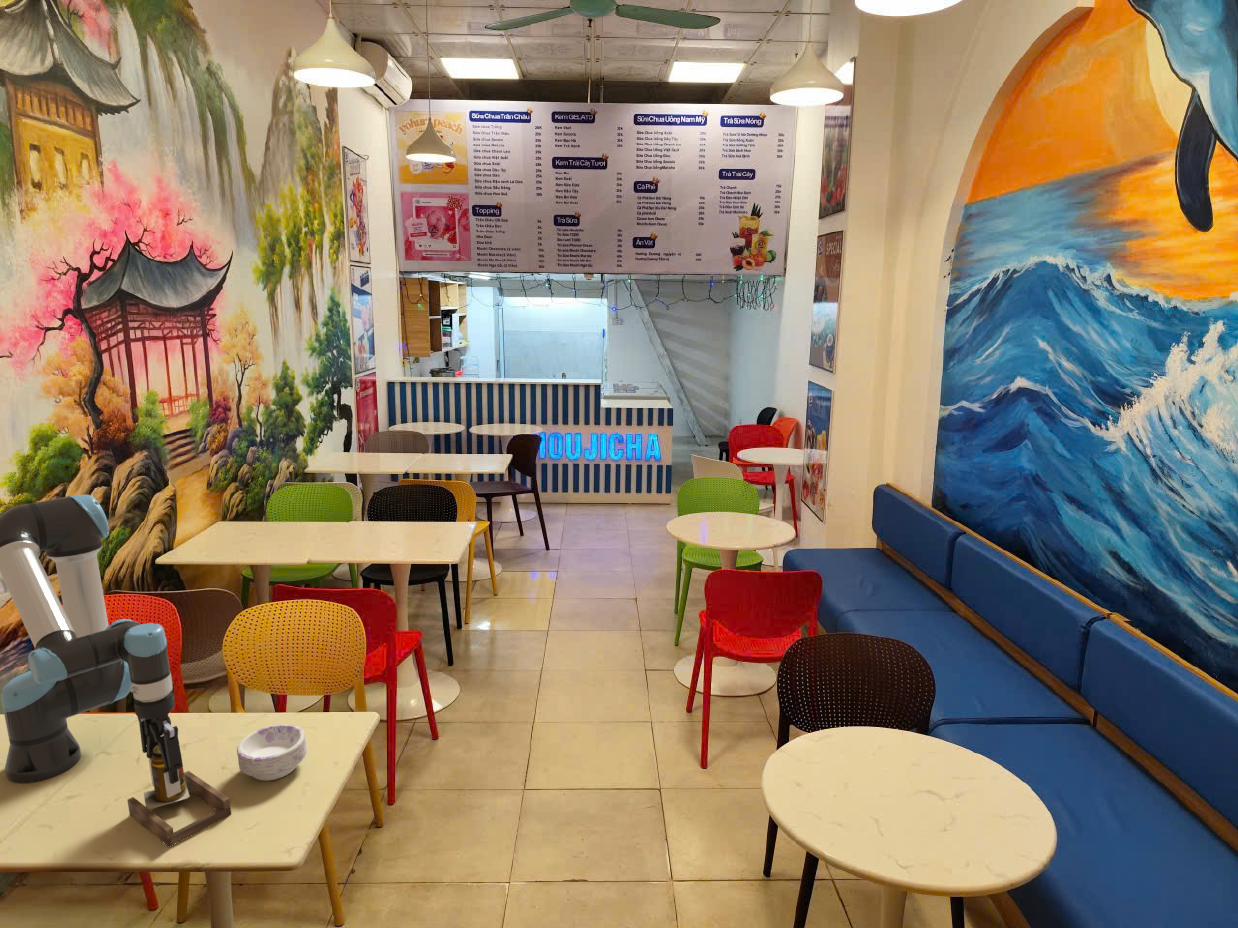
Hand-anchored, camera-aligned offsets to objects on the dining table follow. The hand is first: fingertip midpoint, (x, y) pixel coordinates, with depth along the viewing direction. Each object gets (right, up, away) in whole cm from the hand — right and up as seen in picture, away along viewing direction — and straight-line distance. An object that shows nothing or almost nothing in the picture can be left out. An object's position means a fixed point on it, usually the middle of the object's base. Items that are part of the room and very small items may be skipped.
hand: (166, 788), depth 183 cm
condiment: (0, -2, +1) cm, 2 cm away
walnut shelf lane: (+4, -5, -2) cm, 7 cm away
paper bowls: (+18, -2, +15) cm, 23 cm away
